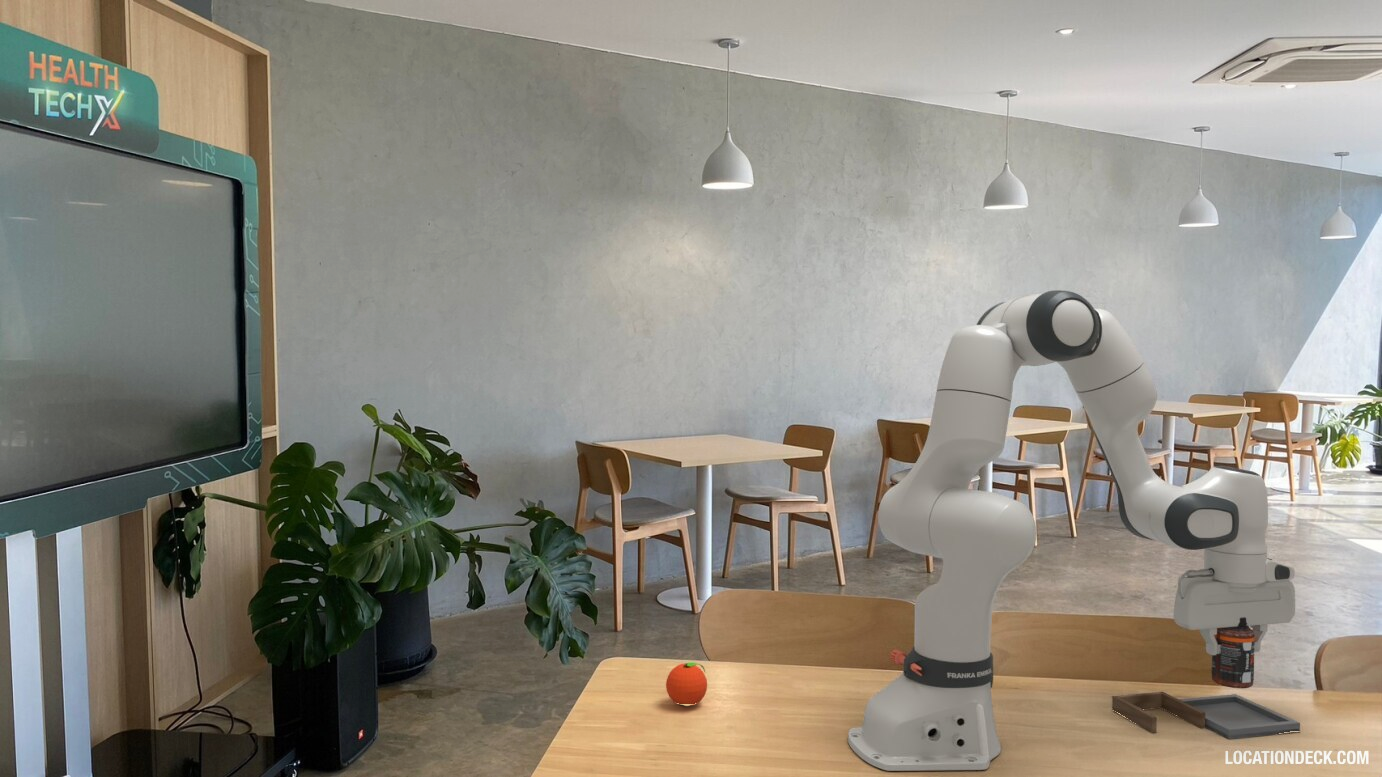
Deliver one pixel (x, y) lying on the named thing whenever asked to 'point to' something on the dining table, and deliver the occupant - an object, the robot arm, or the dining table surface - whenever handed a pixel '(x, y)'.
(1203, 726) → the frame
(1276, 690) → the dining table surface
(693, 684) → the clementine
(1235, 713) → the tray
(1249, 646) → the supplement bottle
